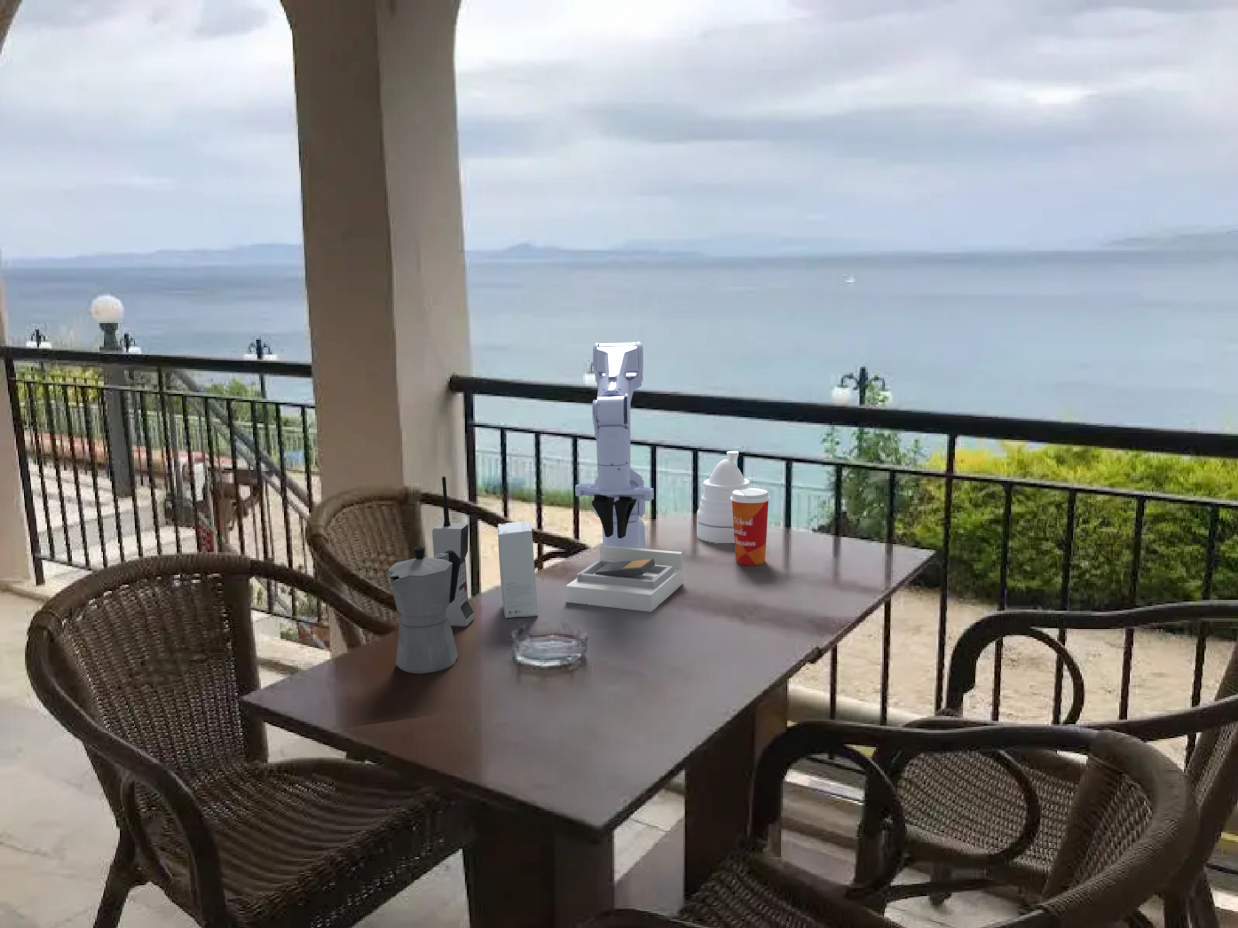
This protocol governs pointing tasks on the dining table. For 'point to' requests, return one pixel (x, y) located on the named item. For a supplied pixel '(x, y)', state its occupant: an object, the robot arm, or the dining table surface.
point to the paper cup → (750, 525)
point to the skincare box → (517, 569)
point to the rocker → (626, 568)
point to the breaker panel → (628, 580)
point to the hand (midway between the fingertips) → (615, 536)
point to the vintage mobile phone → (457, 540)
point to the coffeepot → (425, 610)
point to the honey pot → (720, 501)
